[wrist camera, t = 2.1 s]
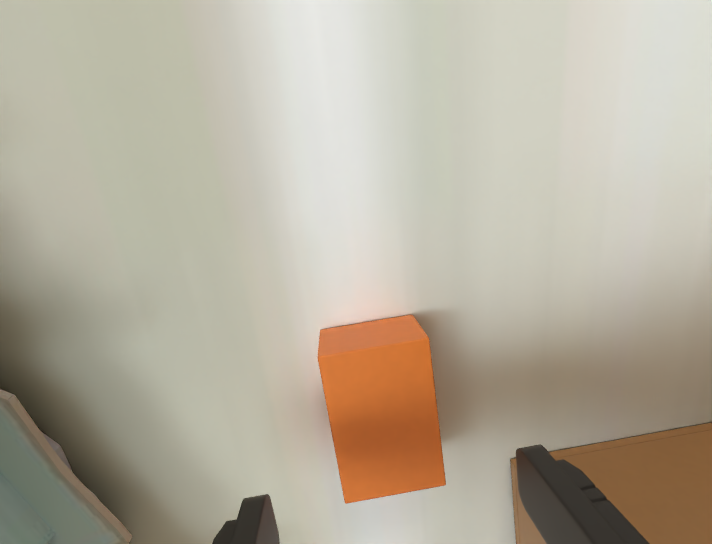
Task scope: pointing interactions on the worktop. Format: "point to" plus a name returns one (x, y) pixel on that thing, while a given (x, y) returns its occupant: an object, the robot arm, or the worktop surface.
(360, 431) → the block
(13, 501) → the ornate book
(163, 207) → the worktop surface
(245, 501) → the robot arm
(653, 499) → the open shipping carton
